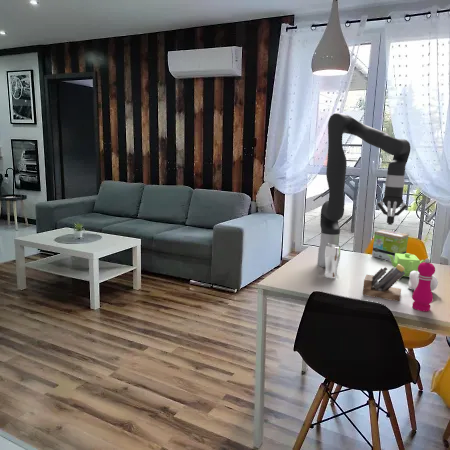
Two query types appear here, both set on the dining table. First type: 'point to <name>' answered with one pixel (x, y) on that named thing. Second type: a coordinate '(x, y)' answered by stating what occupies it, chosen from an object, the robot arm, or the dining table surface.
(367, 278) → the knife block
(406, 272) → the kettle
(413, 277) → the white knot
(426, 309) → the pepper mill
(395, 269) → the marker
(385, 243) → the tea box
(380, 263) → the dining table surface
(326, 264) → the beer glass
